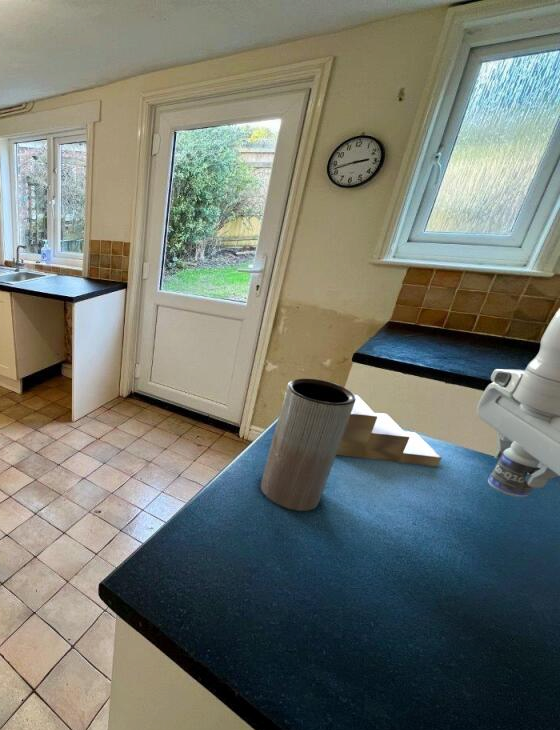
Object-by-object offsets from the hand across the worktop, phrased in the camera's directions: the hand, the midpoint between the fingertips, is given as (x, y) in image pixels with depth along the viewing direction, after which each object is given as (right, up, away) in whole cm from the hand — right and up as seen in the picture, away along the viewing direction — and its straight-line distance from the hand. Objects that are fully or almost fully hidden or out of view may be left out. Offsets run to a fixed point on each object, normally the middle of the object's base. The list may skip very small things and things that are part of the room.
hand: (516, 472), depth 65 cm
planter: (-28, -8, +15) cm, 32 cm away
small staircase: (-1, -1, +28) cm, 28 cm away
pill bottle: (0, -3, +1) cm, 3 cm away
